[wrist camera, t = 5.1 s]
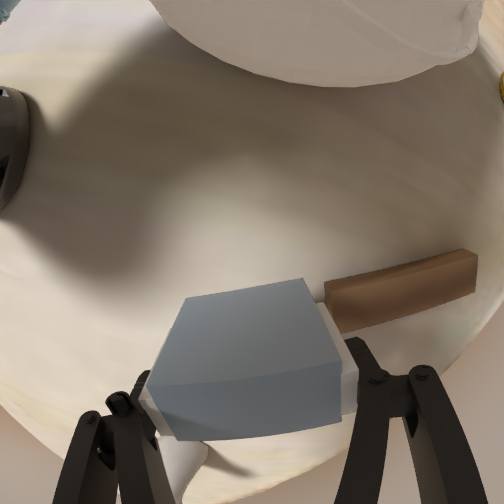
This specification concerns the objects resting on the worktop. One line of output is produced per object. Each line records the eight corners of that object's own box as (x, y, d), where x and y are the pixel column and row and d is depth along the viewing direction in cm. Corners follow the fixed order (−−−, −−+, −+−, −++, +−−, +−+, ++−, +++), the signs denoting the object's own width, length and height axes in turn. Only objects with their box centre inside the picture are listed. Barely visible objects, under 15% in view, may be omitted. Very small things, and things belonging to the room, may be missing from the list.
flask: (217, 443, 30) (209, 506, 20) (199, 465, 32) (190, 519, 22) (164, 424, 29) (144, 485, 20) (152, 448, 31) (135, 501, 21)
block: (324, 282, 24) (331, 292, 22) (463, 248, 23) (477, 254, 21) (328, 321, 25) (334, 334, 23) (461, 283, 24) (474, 291, 22)
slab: (186, 298, 19) (145, 385, 10) (302, 277, 19) (342, 359, 10) (200, 345, 20) (177, 441, 11) (309, 328, 20) (341, 421, 11)
